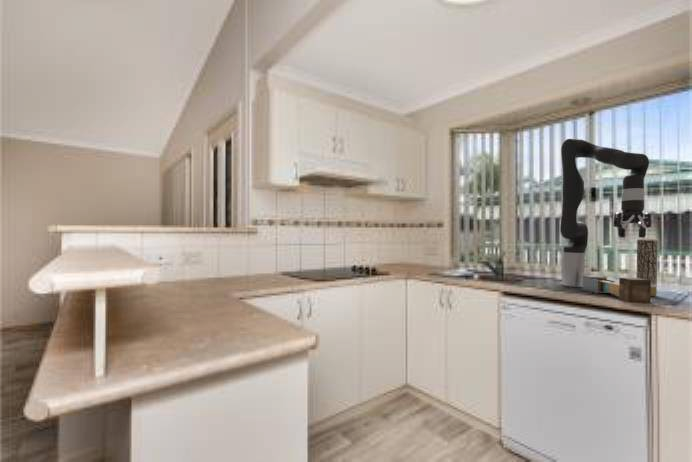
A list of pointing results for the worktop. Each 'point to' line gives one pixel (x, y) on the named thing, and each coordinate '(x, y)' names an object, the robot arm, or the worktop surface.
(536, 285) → the worktop surface
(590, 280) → the grey multicoloured box
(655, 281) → the bark textured post
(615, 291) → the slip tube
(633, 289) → the socket block
